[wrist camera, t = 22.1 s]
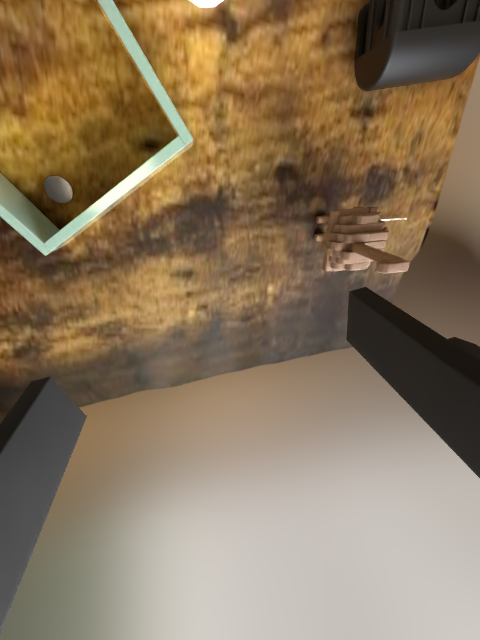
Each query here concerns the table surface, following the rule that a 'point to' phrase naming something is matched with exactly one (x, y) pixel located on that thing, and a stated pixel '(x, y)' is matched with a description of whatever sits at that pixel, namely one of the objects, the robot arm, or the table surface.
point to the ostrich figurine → (357, 241)
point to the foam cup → (206, 3)
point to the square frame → (48, 238)
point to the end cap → (415, 41)
